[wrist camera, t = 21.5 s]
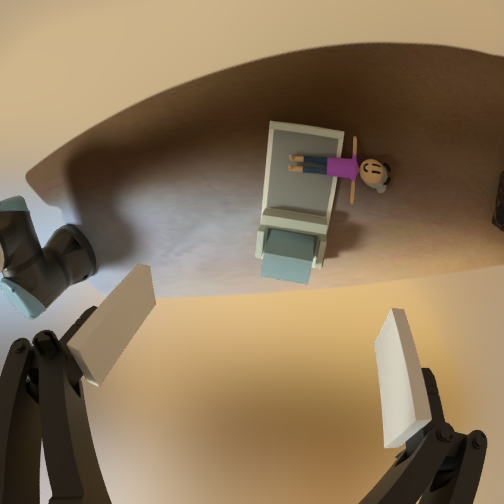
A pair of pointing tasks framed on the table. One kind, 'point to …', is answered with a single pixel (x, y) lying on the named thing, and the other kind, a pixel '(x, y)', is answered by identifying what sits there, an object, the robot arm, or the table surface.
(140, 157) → the table surface
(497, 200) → the yellow tissue box
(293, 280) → the grey-blue block
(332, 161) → the toy
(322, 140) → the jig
